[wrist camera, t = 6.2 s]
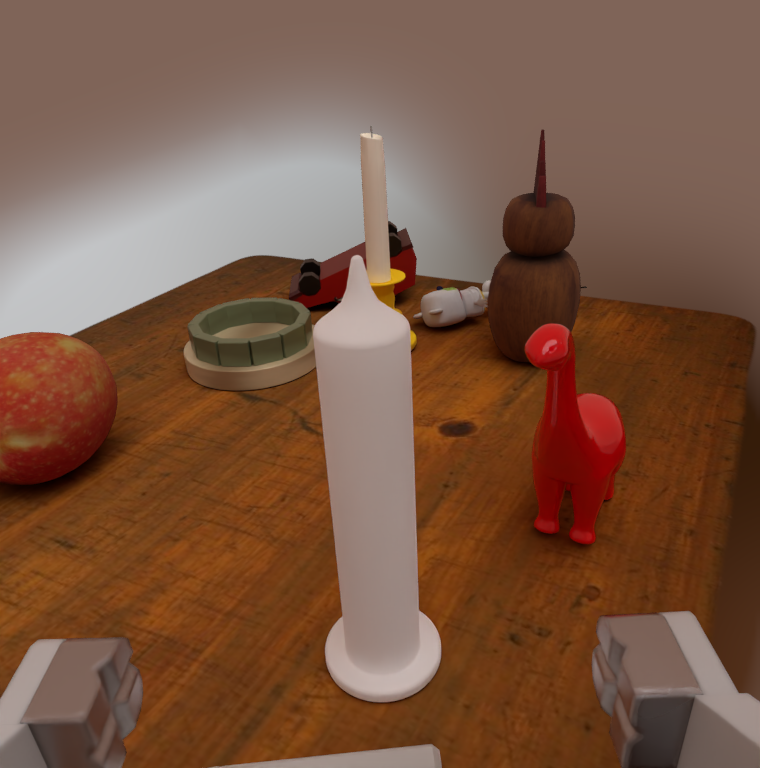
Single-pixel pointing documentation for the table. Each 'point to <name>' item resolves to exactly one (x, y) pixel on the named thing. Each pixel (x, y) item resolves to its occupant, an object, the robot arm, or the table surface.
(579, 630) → the table surface
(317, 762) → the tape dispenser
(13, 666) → the table surface
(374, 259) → the candle
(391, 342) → the candle
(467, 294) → the toy
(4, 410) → the apple
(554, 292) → the wooden figurine
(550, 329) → the dinosaur
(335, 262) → the toy truck
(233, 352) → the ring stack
